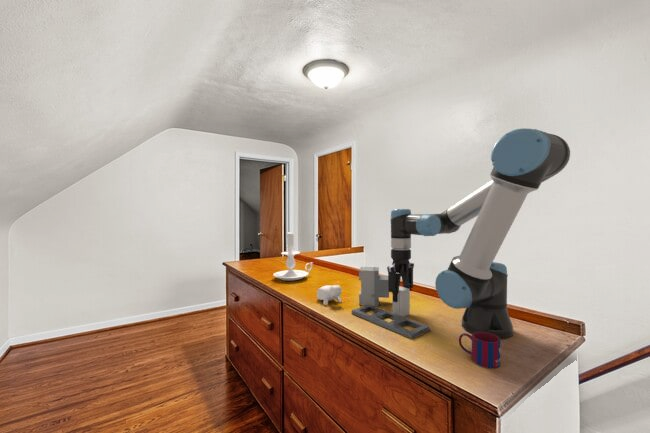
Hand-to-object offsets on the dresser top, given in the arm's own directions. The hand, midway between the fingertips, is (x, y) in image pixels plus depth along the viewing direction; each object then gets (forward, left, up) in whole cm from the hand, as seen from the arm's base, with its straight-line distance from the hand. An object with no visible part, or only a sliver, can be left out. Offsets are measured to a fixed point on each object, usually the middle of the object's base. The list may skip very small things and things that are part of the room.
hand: (401, 308), depth 114 cm
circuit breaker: (+15, -2, -3) cm, 15 cm away
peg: (0, 0, -2) cm, 2 cm away
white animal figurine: (+28, +13, -3) cm, 31 cm away
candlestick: (+76, +3, -3) cm, 76 cm away
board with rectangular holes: (-2, +10, -2) cm, 10 cm away
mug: (-35, +11, -3) cm, 37 cm away
